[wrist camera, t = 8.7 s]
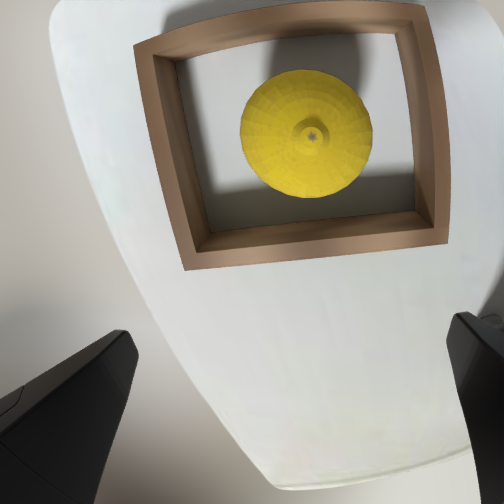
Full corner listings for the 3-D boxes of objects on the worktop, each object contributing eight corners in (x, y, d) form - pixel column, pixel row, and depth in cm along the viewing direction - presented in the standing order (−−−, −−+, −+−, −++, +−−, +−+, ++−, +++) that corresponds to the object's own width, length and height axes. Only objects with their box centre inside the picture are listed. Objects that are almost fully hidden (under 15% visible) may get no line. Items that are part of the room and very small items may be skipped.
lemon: (363, 162, 16) (414, 200, 9) (272, 188, 17) (255, 244, 10) (333, 71, 14) (366, 33, 7) (239, 99, 15) (193, 86, 8)
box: (405, 20, 11) (424, 5, 9) (428, 224, 16) (447, 243, 14) (156, 53, 14) (133, 45, 12) (199, 248, 19) (184, 270, 17)
